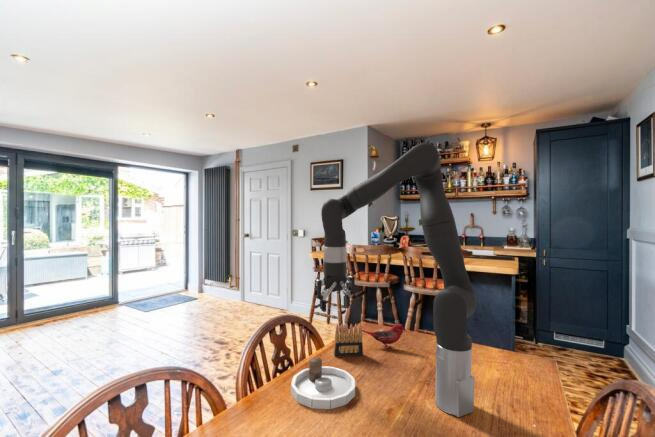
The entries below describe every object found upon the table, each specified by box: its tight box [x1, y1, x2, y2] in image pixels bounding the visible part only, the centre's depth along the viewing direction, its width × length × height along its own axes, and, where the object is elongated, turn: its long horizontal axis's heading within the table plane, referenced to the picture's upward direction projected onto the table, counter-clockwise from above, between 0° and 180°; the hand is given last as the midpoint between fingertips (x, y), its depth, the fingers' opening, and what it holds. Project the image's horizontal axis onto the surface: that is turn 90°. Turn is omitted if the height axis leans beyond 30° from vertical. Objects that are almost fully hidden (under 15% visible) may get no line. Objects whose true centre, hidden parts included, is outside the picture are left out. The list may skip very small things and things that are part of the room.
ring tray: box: [290, 365, 356, 410], centre depth 97 cm, size 19×19×2 cm
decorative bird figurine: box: [362, 323, 407, 349], centre depth 128 cm, size 3×18×10 cm, turn 78°
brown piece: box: [308, 357, 323, 382], centre depth 102 cm, size 4×4×6 cm
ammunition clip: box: [333, 323, 364, 358], centre depth 121 cm, size 11×2×12 cm, turn 96°
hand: (335, 309), depth 105 cm, fingers open, 8 cm apart
